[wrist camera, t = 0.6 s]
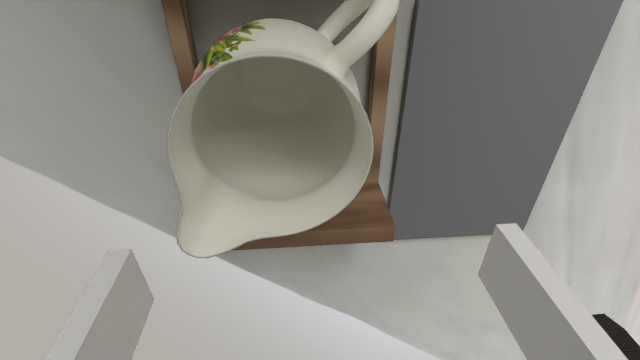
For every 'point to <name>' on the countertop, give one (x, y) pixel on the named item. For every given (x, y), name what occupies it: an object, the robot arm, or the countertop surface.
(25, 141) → the countertop surface
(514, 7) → the rubber mat
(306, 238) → the walnut cradle
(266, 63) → the pitcher
